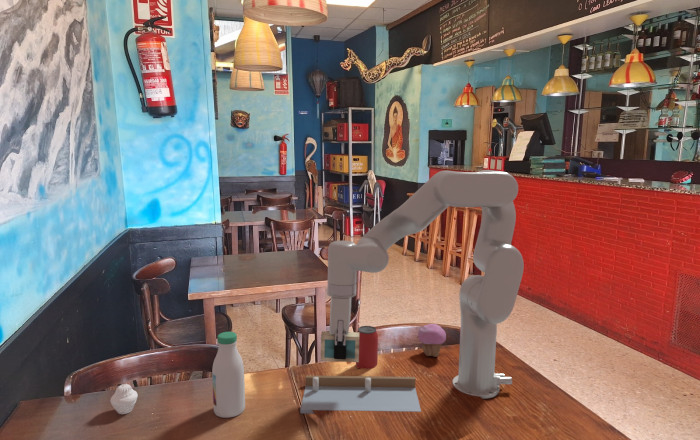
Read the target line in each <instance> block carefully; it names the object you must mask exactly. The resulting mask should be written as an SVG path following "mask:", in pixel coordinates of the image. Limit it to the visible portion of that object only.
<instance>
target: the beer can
mask: <svg viewBox="0 0 700 440" xmlns="http://www.w3.org/2000/svg"><path fill="white" fill-rule="evenodd" d="M357 332H359V362H355V366H356V368H357V369H359V370H361V369H364V370H365V369H367V370H368V369H374V368H376V367H377V366H378V362H379V361H378V354H379V353H378V351H379V336H378V335H379V334H378V332H377V328H376V327H374V326H371V325H362V326H359V327H358V328H357Z"/></svg>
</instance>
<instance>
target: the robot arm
mask: <svg viewBox="0 0 700 440" xmlns="http://www.w3.org/2000/svg"><path fill="white" fill-rule="evenodd" d="M518 194H519V183H518V181H517V180H516V178H515V177H514V176H513V175H512V174H510V173H508V172H506V171H499V170H491V169H482V170H479V171H477V172H470V171H469V172H467V171H465V172H464V171H454V170H440V171H438V172H436V173H435V174H433V175H432V177H430V178H429V179H428V180H427V181H426V182H425V183H423V185H421V187H420V188H419V189H417V190H416V191H415V192H414V193H413V194H412V195H411V196H410V197H409V198H408V199H407V200H406V201H405V202H403V204H401V205H400V206H399V207H398V208H396V209H394V210H393V211H392V212H390V213H389V214H388V215H386V216H384V218H382V219H381V220H380V221H379V222H377V223H375V224H374V226H372V228H370V229H369V230H367V232H366V233H365V234H364V235H363V236H362V237H361V238H360V239H359V240H358V242H357V243H355V242H353V241H350V240H334V241H331V242H330V243H329V245H328V248H327V249H328V250H327V291H326V293H327V296H329V297H330V311H329V332H330V335H332V334H334V333H335V344H334V359H346V344H345V343H346V335H347V334H348V332H350V331H349V330H350V323H351V313H352V298H354V297H356V295H357V277H358V272H357V271H359V272H365V273H371V274H372V273H373V274H374V273H379V272H382V271H383V270H385V269H386V268H387V266H388V265H389V261H390V258H389V252H388V250H389V249H390V248H391V247H392V246H393V245H394V244H395V243H397V242H398V241H399V240H401V239H403V238H404V237H407V236H410V235H414V234H415V235H416V234H417V233H420V232H422V231H424V230H425V229H426V228H427V227H428V226H430V224H431V223H432V222H434V221H435V220H436V219H437V218H438V217H439V216H440V215H441V214H442V213H443V212H445V210H446V209H448V208H449V207H454V208H480V210H481V222H480V226H479V227H480V228H479V231H478V235H477V240H476V243H475V246H474V251H473V255H472V260H473V263H474V265H475V267H476V268H477V269H478V270H479V271H481V272H482V273H483V275H480V274H477V275H470V276H469V277H467V278H466V279H464V281H463V282H462V283H461V285H460V287H459V294H458V295H459V297H458V298H459V311H460V332H459V333H460V335H459V351H458V352H459V355H458V356H459V357H458V375H456V376H455V377H453V379H452V385H453V387H454V388H455V389H456V390H458V391H459V392H461V393H463V394H465V395H466V394H467V395H468V396H474V397H479V398H480V399H483V400H485V399H486V400H487V399H491V398H494V397H496V396H497V395H499V393H500V386H501V385H513V378H512V377H511V376H506V375H505V374H504V373H496V372H495V368H496V367H495V365H496V353H497V351H496V348H497V335H498V334H497V333H498V324H501V323H503V322H505V321H506V320H507V319H508V318H509V317H510V315H511V314H512V312H513V310H514V307H515V303H516V300H517V297H518V292H519V289H520V286H521V282H522V279H523V274H524V268H525V266H524V264H525V263H524V258H523V256H522V253H521V252H520V251H519V249H518V248H517V247H515V246H514V245H512V241H513V238H514V237H513V236H514V232H515V231H514V230H515V227H516V220H517V214H516V213H517V211H516V207H515V203H514V200H515V199H516V198H517V196H518ZM337 332H338V333H337ZM343 332H344V333H343ZM337 336H338V337H337ZM342 336H344V338H343V337H342Z"/></svg>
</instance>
